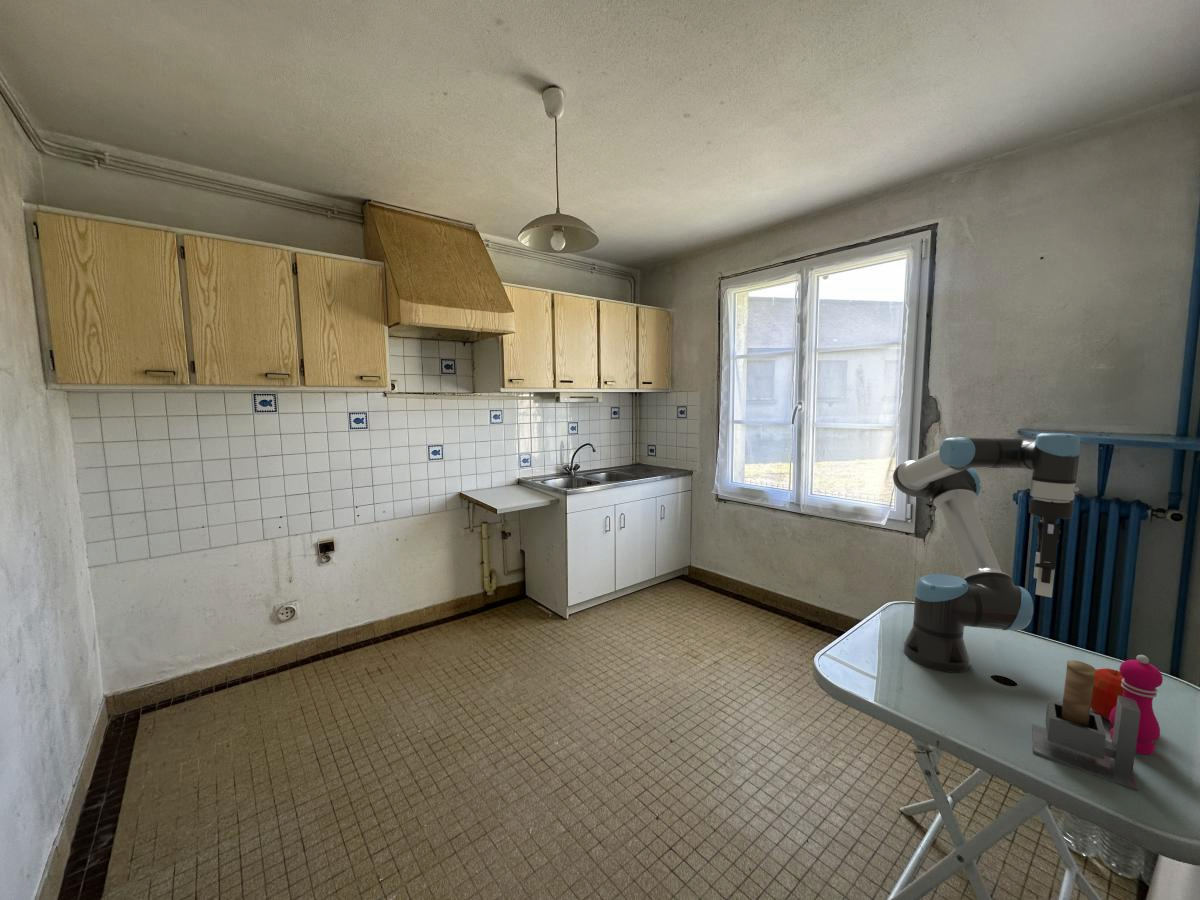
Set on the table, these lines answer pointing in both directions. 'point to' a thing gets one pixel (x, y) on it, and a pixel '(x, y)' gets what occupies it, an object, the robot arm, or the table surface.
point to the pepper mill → (1141, 699)
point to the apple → (1106, 691)
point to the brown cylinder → (1078, 692)
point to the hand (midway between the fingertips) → (1042, 587)
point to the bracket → (1092, 742)
